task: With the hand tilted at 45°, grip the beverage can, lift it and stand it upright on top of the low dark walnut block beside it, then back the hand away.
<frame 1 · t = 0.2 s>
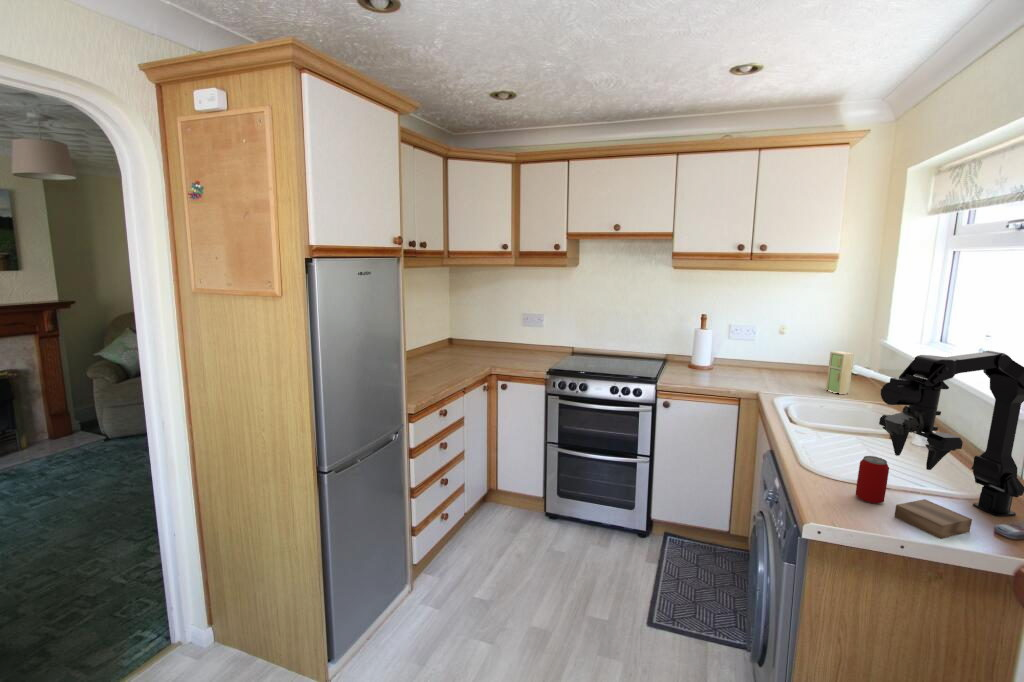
hand: (912, 462, 135), 15 cm above the worktop, tool pointing down, fingers open, 9 cm apart
beverage can: (869, 500, 145), on the worktop
toy refrigerator: (836, 393, 263), on the worktop
walnut block: (930, 524, 132), on the worktop
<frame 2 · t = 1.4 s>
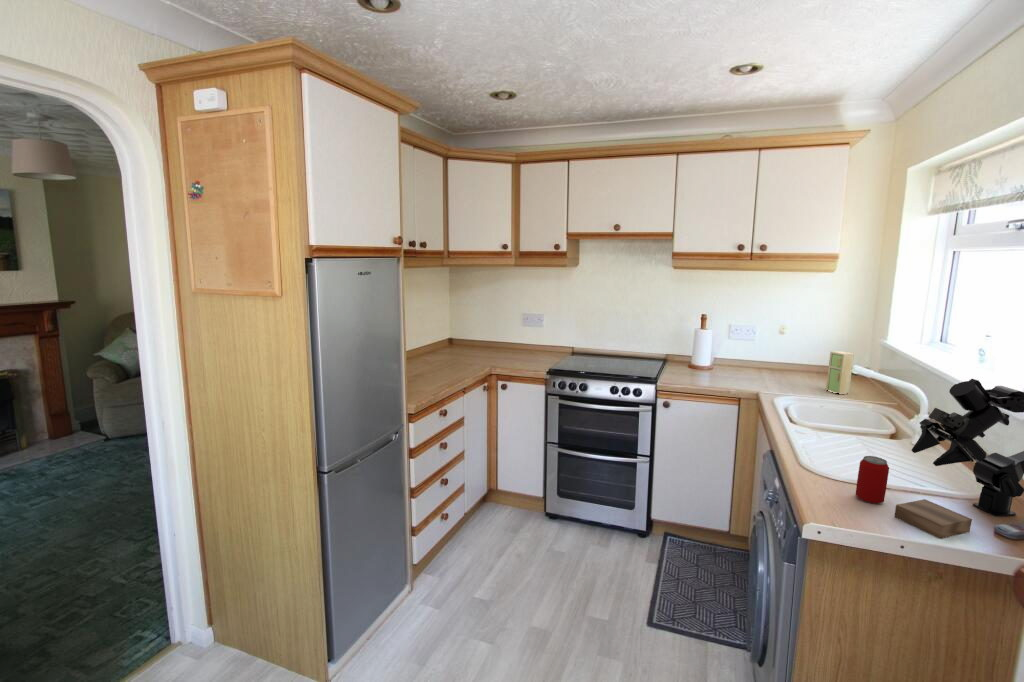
hand: (923, 457, 141), 14 cm above the worktop, tool tilted 45°, fingers open, 9 cm apart
nothing on the worktop moved.
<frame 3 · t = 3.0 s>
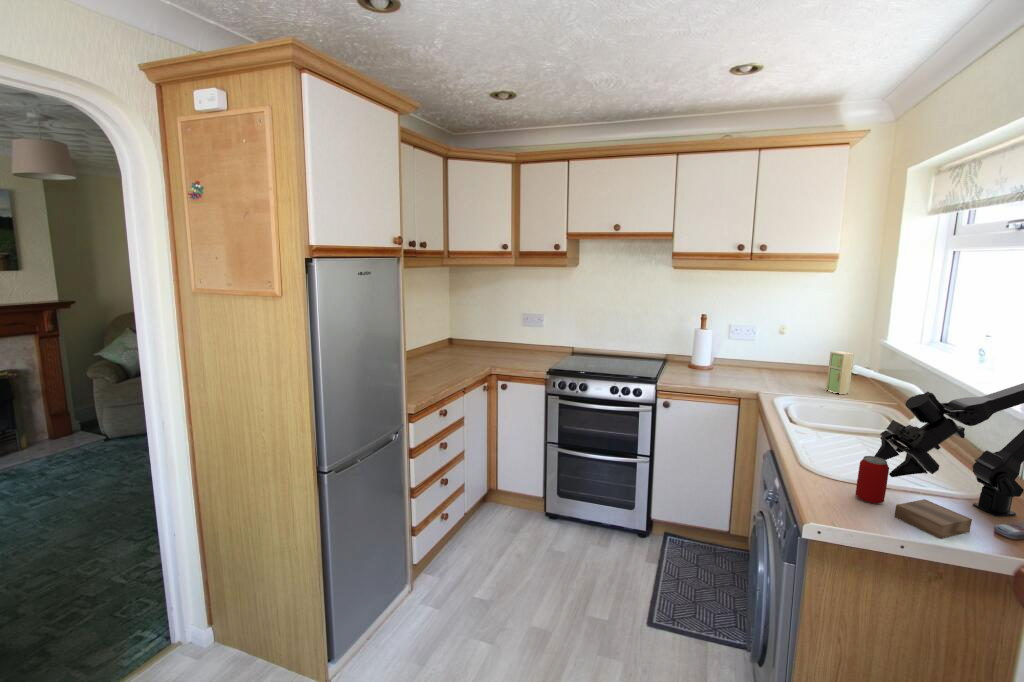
hand: (881, 468, 144), 9 cm above the worktop, tool tilted 45°, fingers open, 9 cm apart
nothing on the worktop moved.
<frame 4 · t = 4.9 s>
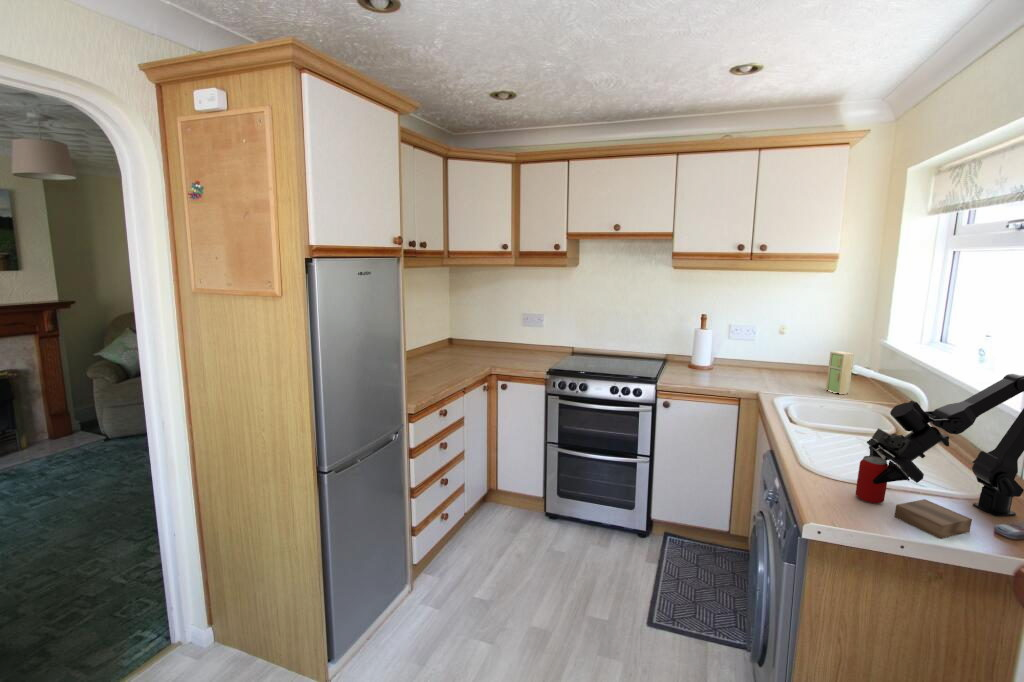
hand: (867, 477, 144), 7 cm above the worktop, tool tilted 45°, fingers closed on beverage can, 7 cm apart
beverage can: (869, 500, 145), on the worktop, touching gripper
everything else where it was.
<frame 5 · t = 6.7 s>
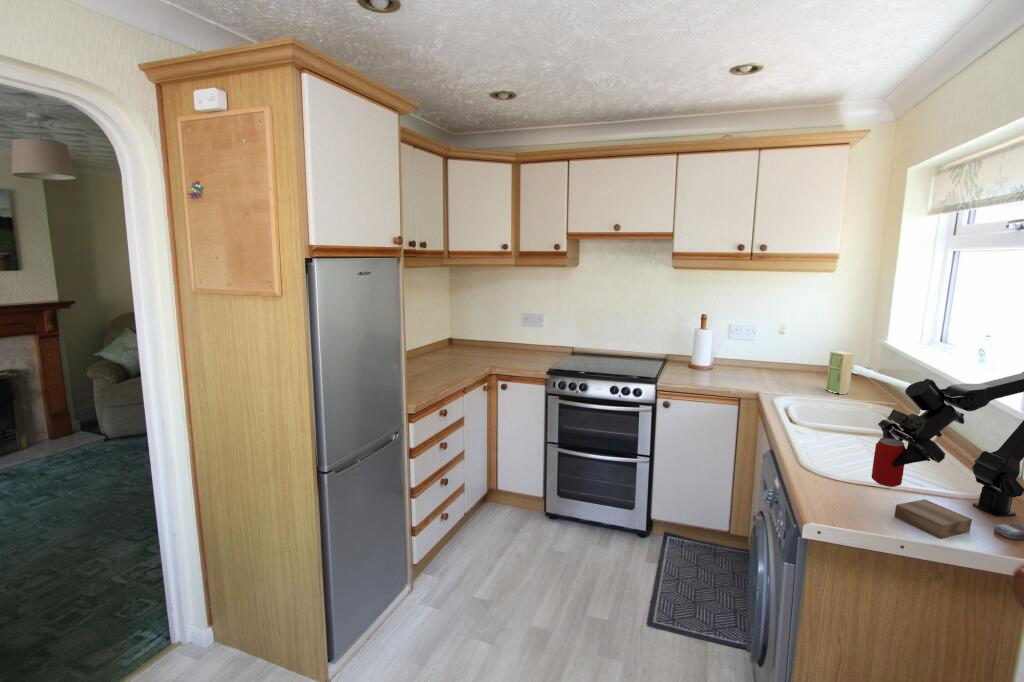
hand: (884, 460, 140), 13 cm above the worktop, tool tilted 45°, fingers closed on beverage can, 7 cm apart
beverage can: (885, 483, 141), point 6 cm above the worktop, touching gripper
everything else where it was.
when the fingers open (11 cm above the worktop, at t = 8.8 s): beverage can drops 1 cm, resting on walnut block.
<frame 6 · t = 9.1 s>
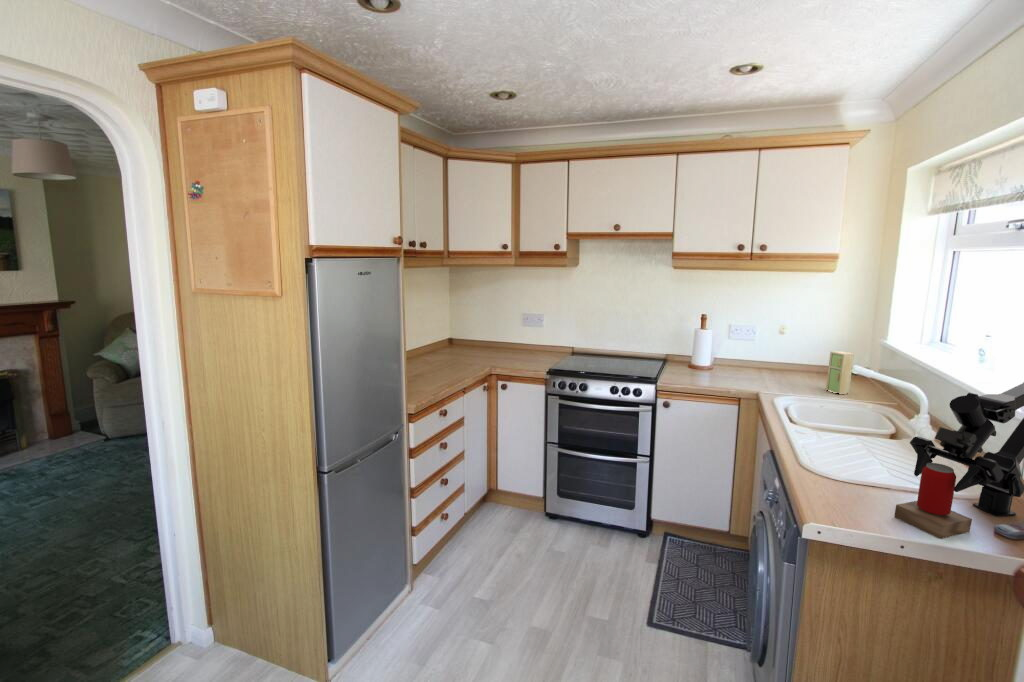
hand: (934, 482, 130), 12 cm above the worktop, tool tilted 45°, fingers open, 9 cm apart
beverage can: (932, 511, 132), point 3 cm above the worktop, touching walnut block
everything else where it was.
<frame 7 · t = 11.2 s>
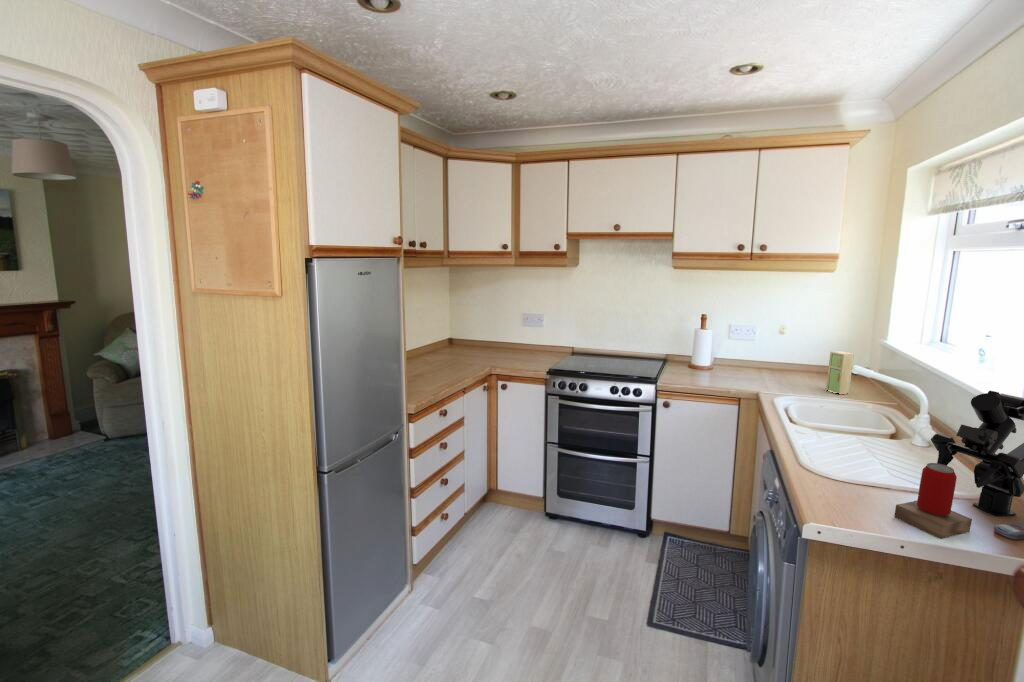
hand: (956, 478, 133), 11 cm above the worktop, tool tilted 45°, fingers open, 9 cm apart
nothing on the worktop moved.
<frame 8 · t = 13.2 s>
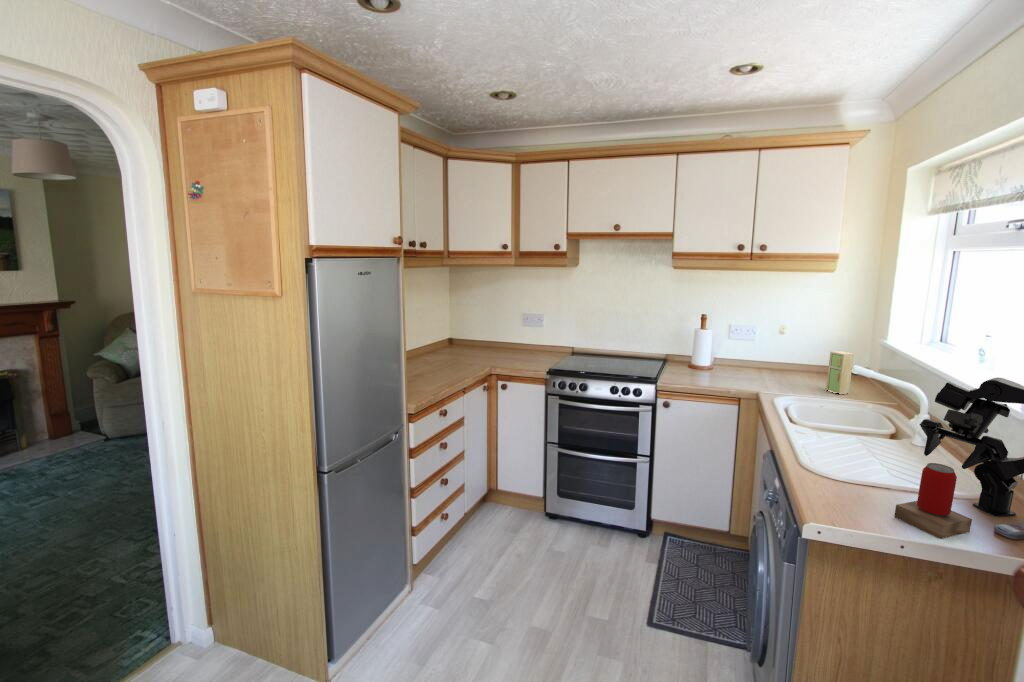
hand: (943, 461, 139), 14 cm above the worktop, tool tilted 45°, fingers open, 9 cm apart
nothing on the worktop moved.
at the end: beverage can 0.2 cm off-centre on the walnut block, point 3.3 cm above the walnut block's base; beverage can tilted 0°; the gripper is holding nothing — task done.
